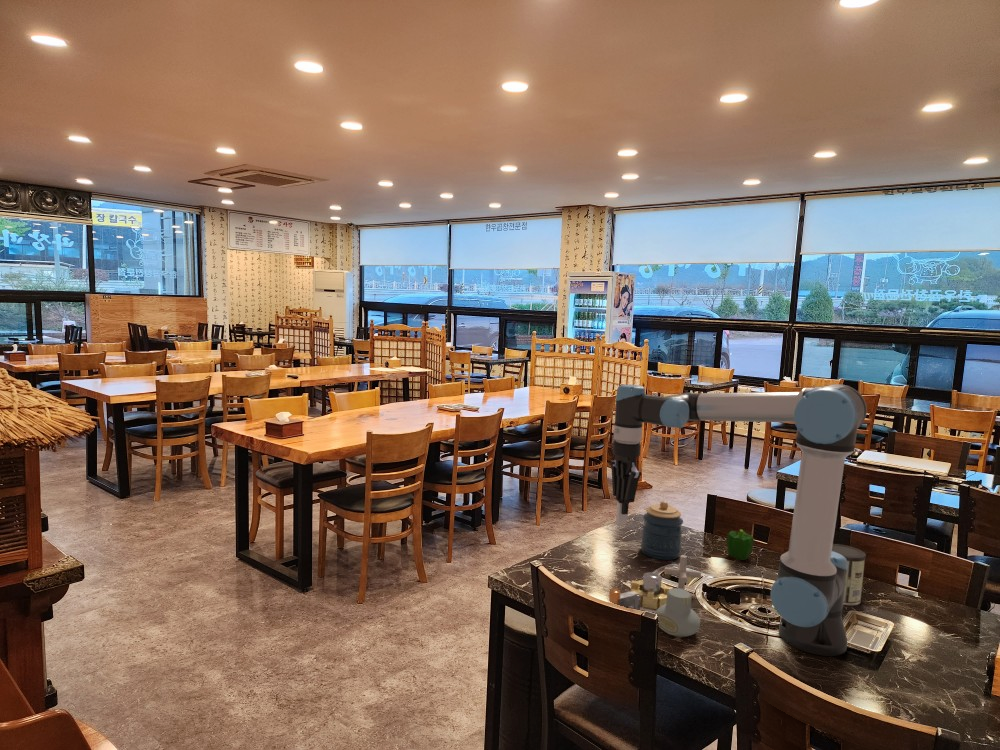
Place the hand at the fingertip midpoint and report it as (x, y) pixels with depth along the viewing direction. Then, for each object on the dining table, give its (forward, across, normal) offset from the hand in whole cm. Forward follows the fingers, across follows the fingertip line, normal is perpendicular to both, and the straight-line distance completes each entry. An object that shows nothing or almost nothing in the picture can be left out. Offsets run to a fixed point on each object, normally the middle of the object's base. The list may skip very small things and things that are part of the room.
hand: (621, 524), depth 171 cm
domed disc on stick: (+19, +8, +2) cm, 21 cm away
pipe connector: (+21, +2, +20) cm, 29 cm away
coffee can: (+21, +17, +64) cm, 69 cm away
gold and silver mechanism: (+20, +9, +3) cm, 22 cm away
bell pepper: (+21, -14, +54) cm, 60 cm away
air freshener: (+21, +22, +5) cm, 30 cm away
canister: (+21, -24, +30) cm, 43 cm away
